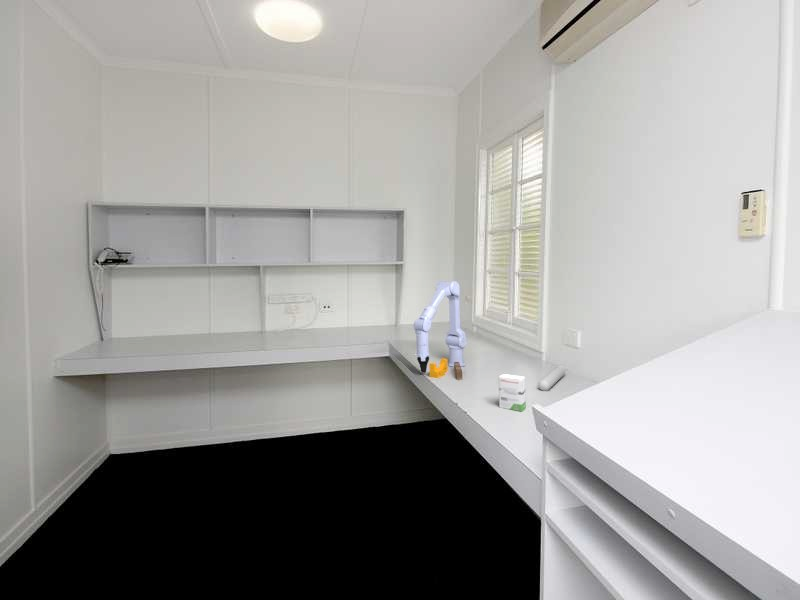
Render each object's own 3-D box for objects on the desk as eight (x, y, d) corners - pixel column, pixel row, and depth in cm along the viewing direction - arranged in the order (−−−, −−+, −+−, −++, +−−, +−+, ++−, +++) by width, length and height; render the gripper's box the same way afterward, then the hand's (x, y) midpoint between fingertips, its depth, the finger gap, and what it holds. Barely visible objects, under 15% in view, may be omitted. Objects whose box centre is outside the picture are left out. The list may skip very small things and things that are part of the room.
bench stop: (454, 369, 200) (454, 361, 199) (459, 369, 199) (458, 361, 199) (457, 379, 184) (456, 371, 183) (462, 379, 184) (462, 370, 183)
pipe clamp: (437, 378, 187) (437, 364, 186) (429, 377, 190) (429, 363, 189) (450, 372, 196) (450, 359, 196) (443, 371, 199) (442, 358, 198)
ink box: (526, 407, 147) (526, 376, 146) (521, 412, 143) (521, 379, 142) (503, 403, 153) (503, 372, 151) (498, 407, 149) (498, 376, 147)
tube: (551, 384, 162) (567, 368, 182) (538, 377, 164) (556, 363, 184) (546, 395, 163) (563, 378, 183) (534, 389, 166) (552, 373, 186)
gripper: (414, 341, 198) (415, 368, 200) (414, 347, 184) (414, 376, 185) (428, 340, 198) (429, 368, 199) (429, 347, 184) (430, 376, 185)
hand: (423, 372), depth 192 cm, fingers closed
